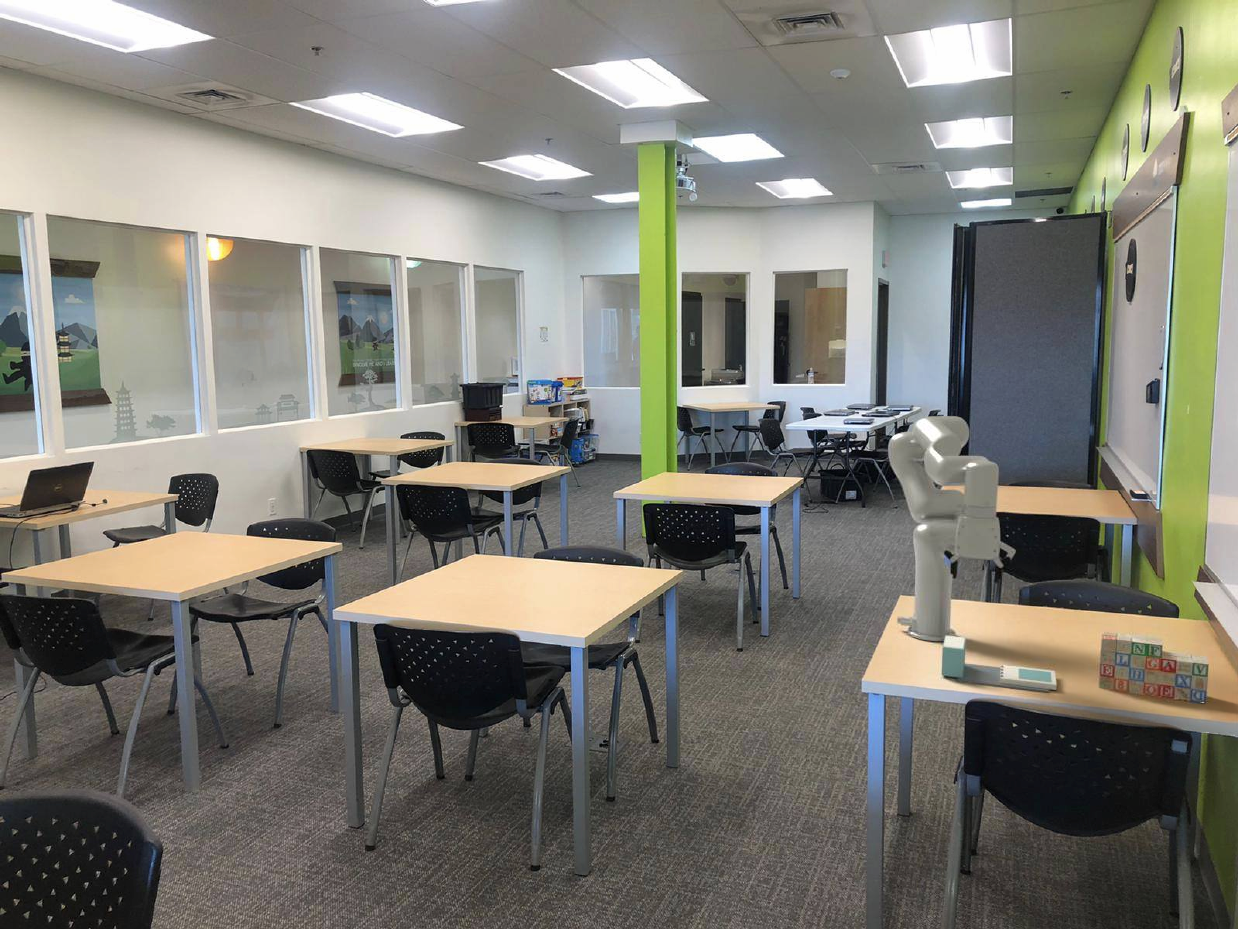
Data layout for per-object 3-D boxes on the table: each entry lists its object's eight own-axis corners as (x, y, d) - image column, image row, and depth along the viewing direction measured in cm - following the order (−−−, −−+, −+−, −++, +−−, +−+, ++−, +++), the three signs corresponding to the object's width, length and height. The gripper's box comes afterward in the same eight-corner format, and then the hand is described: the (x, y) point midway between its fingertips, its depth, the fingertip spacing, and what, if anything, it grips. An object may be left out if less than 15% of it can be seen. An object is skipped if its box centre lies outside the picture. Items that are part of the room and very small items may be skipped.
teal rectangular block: (941, 675, 224) (942, 646, 223) (944, 662, 233) (945, 635, 232) (962, 678, 222) (963, 649, 221) (964, 664, 231) (965, 637, 230)
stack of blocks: (1204, 695, 212) (1208, 643, 210) (1206, 705, 206) (1210, 651, 205) (1099, 679, 222) (1102, 629, 220) (1098, 688, 217) (1101, 637, 215)
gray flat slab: (956, 681, 221) (957, 674, 221) (959, 664, 233) (960, 657, 233) (1056, 693, 213) (1056, 686, 213) (1054, 675, 225) (1054, 668, 224)
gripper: (940, 511, 227) (936, 579, 230) (1017, 518, 219) (1012, 588, 222) (944, 505, 233) (940, 571, 236) (1018, 511, 226) (1014, 579, 229)
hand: (975, 579), depth 229 cm, fingers open, 9 cm apart
